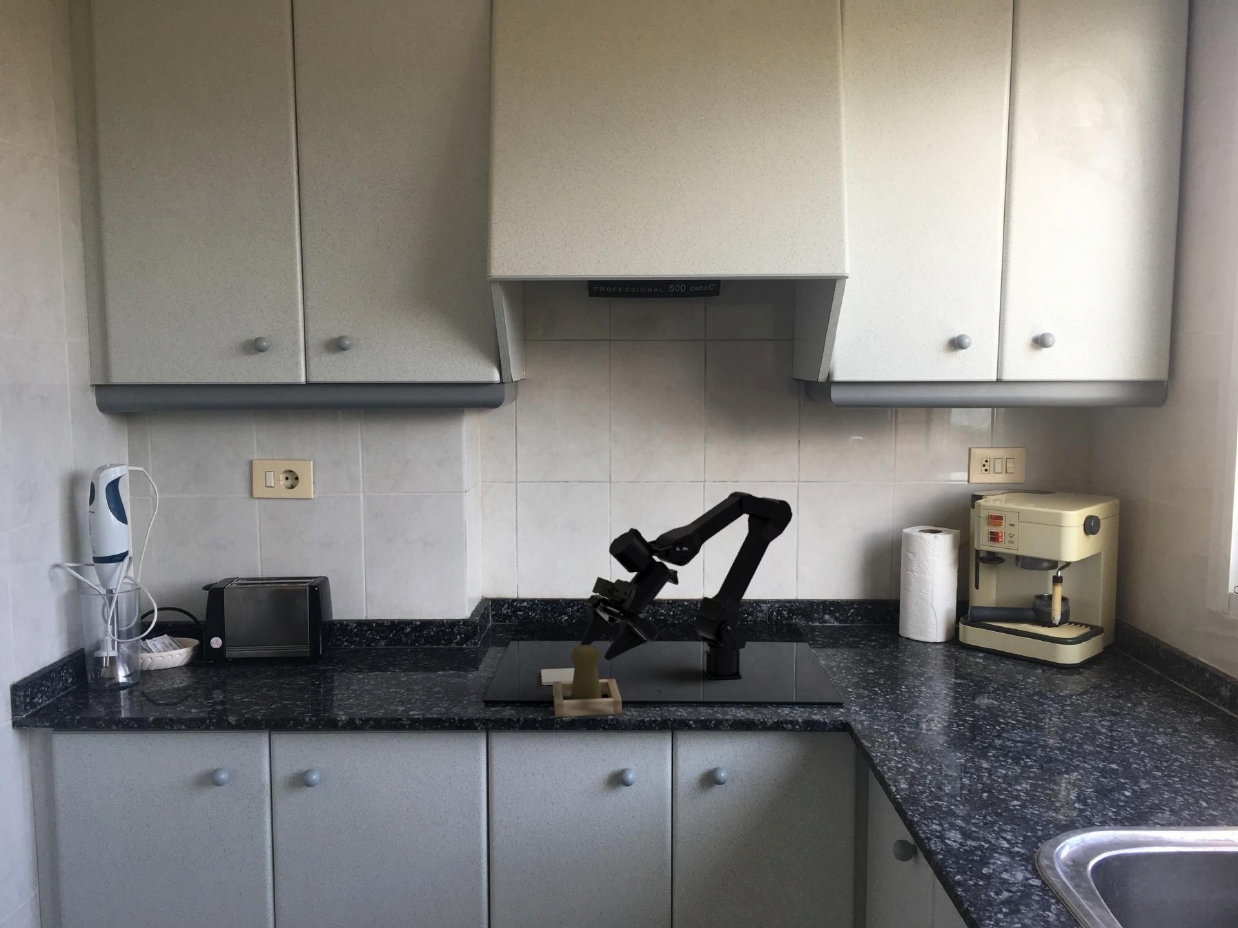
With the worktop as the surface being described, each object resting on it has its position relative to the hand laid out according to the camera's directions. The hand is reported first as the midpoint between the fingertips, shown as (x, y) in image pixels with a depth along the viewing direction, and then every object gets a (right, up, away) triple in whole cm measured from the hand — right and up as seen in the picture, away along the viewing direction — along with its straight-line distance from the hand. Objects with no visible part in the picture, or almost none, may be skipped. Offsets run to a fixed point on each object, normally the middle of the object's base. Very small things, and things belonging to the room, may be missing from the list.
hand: (593, 652), depth 168 cm
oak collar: (-1, -10, 0) cm, 10 cm away
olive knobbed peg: (-1, -10, 0) cm, 10 cm away
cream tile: (-7, -8, +14) cm, 18 cm away
